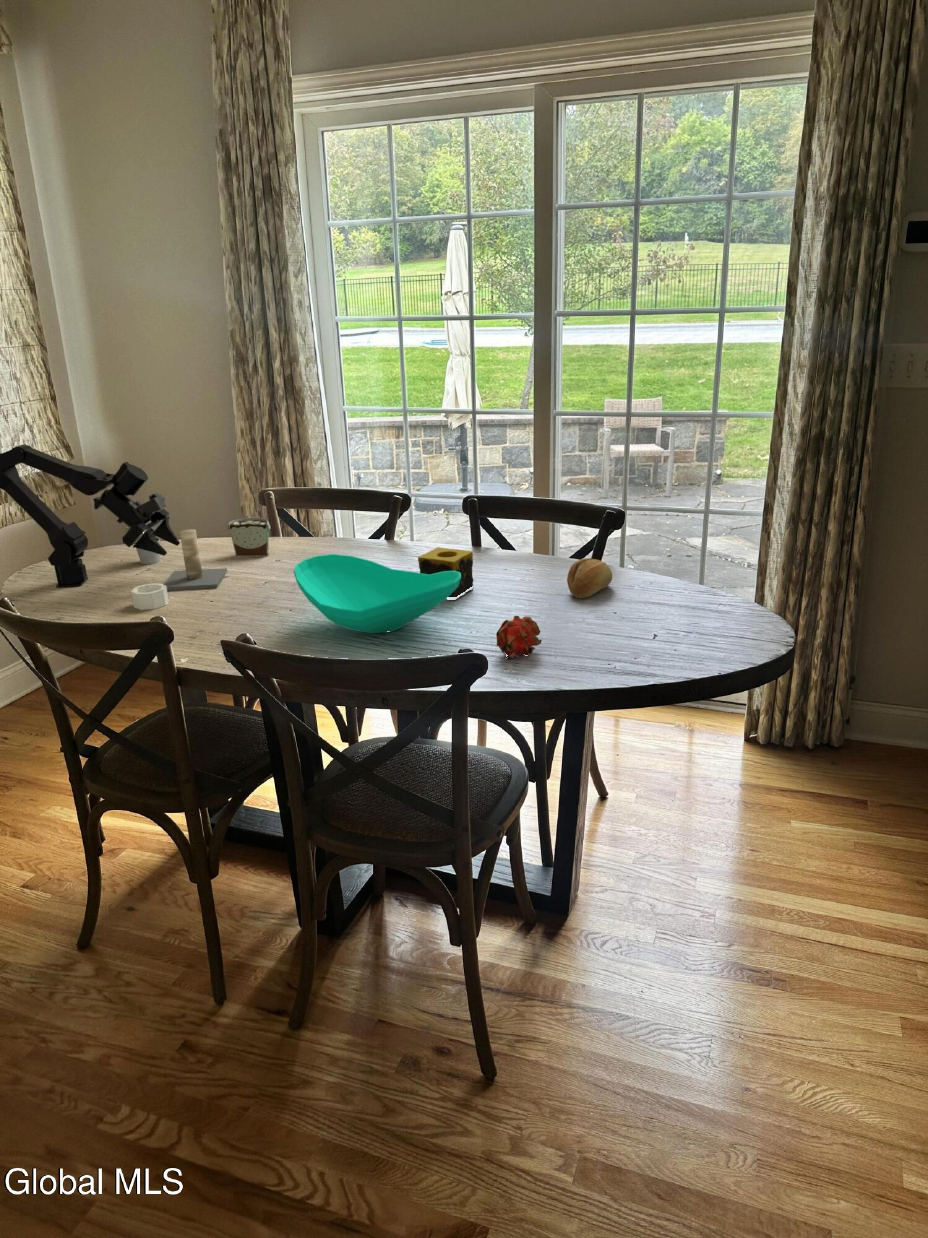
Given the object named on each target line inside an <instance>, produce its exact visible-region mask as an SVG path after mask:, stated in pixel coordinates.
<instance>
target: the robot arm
mask: <svg viewBox="0 0 928 1238" xmlns="http://www.w3.org/2000/svg"><path fill="white" fill-rule="evenodd" d="M19 464H23V465H25V466H28V467H31V468H33V469H35V470H38V471H40V472H43V473H46V474H48V475H51V476H53V477H56V478H58V479H61V480H64V482H67V483H68V484H69V485H70V486H71V487H72V488H74V489H75V490H76V491H78V492H80V493H81V494H83V495H86V496H88V497H89V496H94V495H96V494H98V493H100V492H102V493H101V495H100V496H96V497H94V498H93V505H94V506H93V508H94V510H98V509H100V508H102V507H105V509H107V510H108V511H109V512H110V513H112V514H113V515H114V516H115V517H116V518H117V520H116V522H117V523H119V524H122V523H123V524H124V525H126V527H129V528H130V529H129V530H128V531H127V532H125V534H124V535H123V536H122V543H123V544H124V545H125V546H127V547H128V548H130V547H132V548H133V549H136V548H139V549H143V550H147V551H150V552H154V553H157V554H160V556H164V557H165V556H166V555H167V554H168V552H167V550H166V549H165V548H164V547H163V546H162V545H161V543H160V544H159V543H158V542H157V541H156V540H155V539H154V538H153V537H152V534H153V535H155V537H156V538H160V540H161V539H162V540H163V541H166V542H168V543H170V544H172V545H174V546H177V547H178V546H179V545H180V544H181V541H180V540H179V539H178V538H177V536H176V534H175V532H174V531H173V530H172V528H171V526H170V523H169V521H170V516H169V515H170V512H168V511H167V510H166V509H165V507H167V504H166V502H165V500H166V498H165V497H164V496H162V494H159V493H157V492H154V493H153V494H151V495H149V496H148V500H147V501H146V502H143V503H142V502H141V501H139V500H136V501H134V500H132V499H131V498H130V497H129V496H133V497H134V496H135V495H136V494H137V493H138V492H139V490H140V489H141V488H142V487H143V486H144V484H145V483H146V482H147V481H148V480H149V476H148V474H147V473H146V472H145V470H143V469H142V468H140V467H138V466H136V465H134V464H130V463H129V462H128V461H124V462H123V463H122V464H121V465H120V466H119V469H118V470H117V471H116V472H115V473H108V472H106V471H104V470H102V469H100V468H97V467H92V466H87V465H86V466H85V465H77V464H73V463H70V462H69V461H66V460H63V459H61V458H58V457H56V456H53V455H50V454H49V453H46V452H44V451H40V450H38V449H36V448H34V447H32V446H30V445H28V444H25V443H24V444H20V445H16V446H13V447H12V448H11V449H9V450H7V451H4V452H2V453H0V490H3V491H4V492H5V493H6V494H7V495H8V496H9V497H11V499H12V500H13V501H14V502H15V503H16V504H17V505H18V506H19V507H20V508H21V509H22V510H23V511H24V512H25V513H26V514H28V516H29V517H31V519H32V520H33V521H34V522H35V523H36V524H37V525H38V526H39V527H40V528H41V529H42V530H43V531H44V532H45V533H46V535H47V538H48V540H49V543H50V545H51V546H52V548H53V549H54V550H53V551H52V553H51V554H50V555H48V558H47V561H48V562H49V563H50V565H51V566H52V567H54V568H53V569H54V571H55V576H56V577H55V578H56V582H57V583H56V585H54V586H55V588H64V587H65V588H66V587H68V588H69V587H80V586H82V585H84V584H85V582H87V580H89V576H88V572H87V567H86V564H84V562H83V558H82V557H83V556H84V555H85V551H86V550H87V548H88V545H89V540H88V537H87V535H86V531H84V530H82V529H81V528H80V527H79V525H78V524H77V523H76V522H75V521H72V522H70V523H67V522H65V521H63V520H61V519H60V518H59V516H58V515H57V514H56V513H55V512H54V511H53V510H52V509H50V508H49V506H48V505H47V504H46V503H45V502H44V501H43V500H42V499H41V498H40V497H39V496H38V495H37V494H36V493H35V492H34V491H33V490H32V489H31V488H30V487H29V486H28V485H27V484H26V483H25V482H24V481H23V479H21V477H20V474H19V471H18V468H17V467H16V466H17V465H19ZM110 486H112V487H111V488H110V489H107V488H108V487H110ZM153 531H154V532H153ZM151 532H153V533H151ZM134 542H135V544H134Z"/></svg>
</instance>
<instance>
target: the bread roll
mask: <svg viewBox="0 0 928 1238" xmlns="http://www.w3.org/2000/svg"><path fill="white" fill-rule="evenodd" d="M612 580H613V573H612V569H611V568H610V567H609V565H608V564H607V563H606V562H604V561H602V560H599V559H595V558H592V557H588V558H581V559H579V560H577V561H575V562H574V563H572V565H570V568H569V570H568V573H567V577H566V582H567V588H568V589H569V592H570V593H571V595H572V596H574V597H575V598H577V599H585V598H588V597H592V595H594V594H597V593H598V592H600V591H601V590H603V589H605V588H607V587H608V586H610V584H611V582H612Z"/></svg>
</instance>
